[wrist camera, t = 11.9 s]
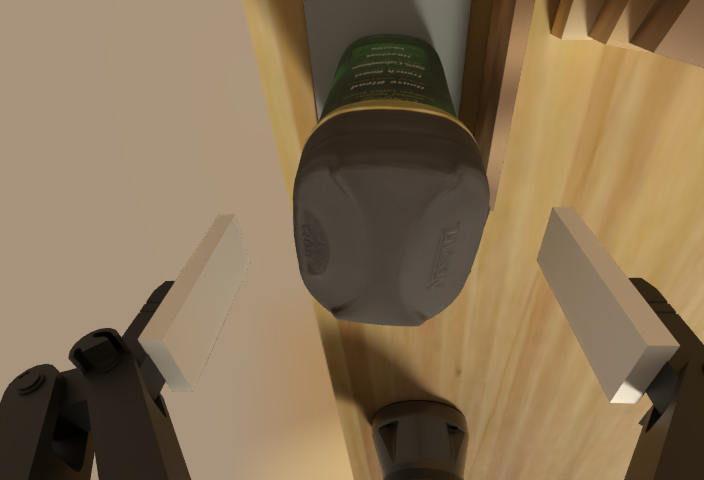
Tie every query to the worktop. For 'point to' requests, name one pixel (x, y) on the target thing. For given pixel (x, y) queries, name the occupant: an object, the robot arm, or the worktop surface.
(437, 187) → the coffee jar
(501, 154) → the wooden open enclosure
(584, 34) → the offcut bottom
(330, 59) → the mat
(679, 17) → the offcut top
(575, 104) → the worktop surface
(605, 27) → the offcut middle
